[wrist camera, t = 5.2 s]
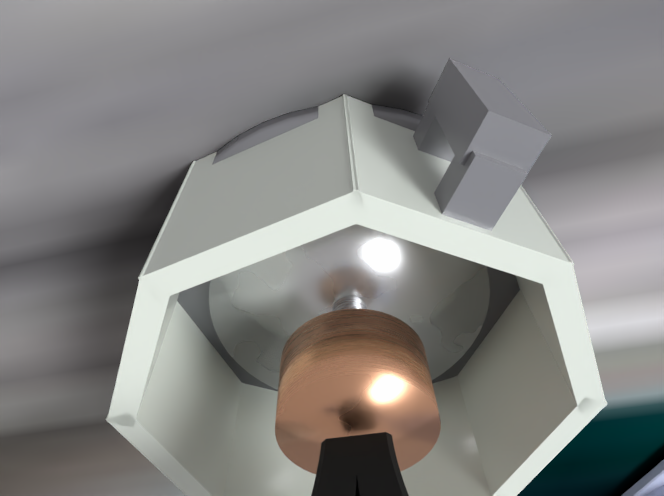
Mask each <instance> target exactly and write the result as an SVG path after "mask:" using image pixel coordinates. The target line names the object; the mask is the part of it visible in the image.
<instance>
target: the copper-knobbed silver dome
mask: <svg viewBox="0 0 664 496" xmlns="http://www.w3.org/2000/svg"><path fill="white" fill-rule="evenodd" d="M489 298H490V285H489V275H488V272H487V268H486V266H485V265H482V264H479V263H476V262H473V261H470V260H467V259H464V258H460V257H457V256H454V255H451V254H448V253H445V252H442V251H439V250H436V249H433V248H429V247H426V246H423V245H420V244H417V243H414V242H411V241H408V240H405V239H401V238H398V237H395V236H392V235H389V234H386V233H383V232H380V231H377V230H374V229H370V228H367V227H364V226H361V225H358V224H355V225H352V226H349V227H347V228H344V229H342V230H339V231H336V232H334V233H331V234H329V235H326V236H323V237H321V238H318V239H316V240H313V241H311V242H308V243H305V244H303V245H300V246H298V247H295V248H292V249H290V250H287V251H285V252H282V253H280V254H277V255H274V256H272V257H269V258H267V259H264V260H261V261H259V262H256V263H254V264H251V265H248V266H246V267H243V268H241V269H238V270H236V271H233V272H230V273H228V274H225V275H223V276H220V277H217V278H215V279H212V280H211V282H210V287H209V307H210V315H211V319H212V322H213V326H214V329H215V331H216V333H217V335H218V337H219V339H220V341H221V343H222V344H223V346H224V347H225V349H226V350H227V352H228V353H229V354H230V355H231V357H232V358H233V359H234V360H235V361H236V362H237V363H238V364H239V365H240V366H241V367H242V368H243V369H245V370H246V371H247V372H248V373H249V374H251V375H252V376H254V377H255V378H257V379H258V380H260V381H261V382H263V383H265V384H267V385H269V386H271V387H273V388H274V389H277V390H278V397H277V408H276V420H275V436H276V440H277V443H278V445H279V447H280V449H281V451H282V452H283V453H284V455H285V456H286V457H287V458H288V459H289V460H290V461H292V462H293V463H294V464H295V465H297V466H299V467H300V468H302V469H304V470H306V471H308V472H310V473H313V474H316V473H317V467H318V462H319V456H320V449H321V443H322V442H323V441H324V440H325V439H328V438H337V437H346V436H355V435H364V434H372V433H381V432H387V433H389V434H391V435H392V438H393V444H394V449H395V453H396V458H397V461H398V465H399V468H400V472H401V471H403V470H405V469H407V468H409V467H411V466H413V465H414V464H416V463H417V462H419V461H420V460H421V459H423V458H424V457H425V456H426V455H427V454H428V453H429V452H430V451H431V450H432V448H433V447H434V445H435V444H436V442H437V440H438V437H439V434H440V430H441V420H440V415H439V410H438V406H437V402H436V397H435V393H434V388H433V384H432V380H433V379H435V378H437V377H438V376H440V375H441V374H443V373H444V372H445V371H447V370H448V369H449V368H450V367H452V366H453V365H454V364H455V363H456V362H457V361H458V360H459V359H460V358H461V357H462V356H463V355H464V354H465V353H466V351H467V350H468V349H469V348H470V347H471V345H472V344H473V342H474V341H475V339H476V337H477V336H478V334H479V333H480V330H481V328H482V326H483V323H484V321H485V318H486V314H487V311H488V307H489Z"/></svg>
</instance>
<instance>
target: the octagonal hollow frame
mask: <svg viewBox="0 0 664 496" xmlns="http://www.w3.org/2000/svg"><path fill="white" fill-rule="evenodd" d="M428 103H429V104H428V106H427V108H426V111H425V113H424V115H423V116H422V115H418V114H415V113H412V112H408V111H405V110H402V109H396V108H390V107H384V106H378V105H371V104H368V103H366V102H363V101H360V100H358V99H355V98H352V97H350V96H347V94H345V95H344V94H343V96H341V97H339V98H336V99H334V100H332V101H330V102H327V103H325V104H323V105H321V106H318V107H313V108H308V109H304V110H300V111H295V112H291V113H287V114H285V115H282V116H279V117H277V118H274V119H271V120H269V121H266V122H263V123H261V124H259V125H257V126H256V127H254V128H252V129H250V130H248V131H246V132H244V133H242V134H240V135H239V136H237V137H236V138H235V139H233V140H232V141H230V142H229V143H228V144H226V145H225V146H224V147H222V148H221V149H219V150H218V151H217V152H215V153H213V154H210V155H208V156H206V157H204V158H201V159H199V160H197V161H193V162H192V164H191V166H190V168H189V170H188V172H187V174H186V177H185V179H184V181H183V183H182V185H181V187H180V189H179V192H178V194H177V196H176V198H175V200H174V202H173V204H172V206H171V209H170V211H169V213H168V215H167V217H166V219H165V221H164V224H163V226H162V228H161V230H160V232H159V234H158V236H157V238H156V241H155V243H154V245H153V247H152V249H151V251H150V253H149V256H148V258H147V260H146V262H145V264H144V266H143V268H142V270H141V273H140V275H139V277H138V279H139V284H138V288H137V293H136V297H135V301H134V306H133V310H132V314H131V319H130V323H129V327H128V332H127V336H126V340H125V345H124V349H123V353H122V358H121V362H120V366H119V371H118V375H117V379H116V384H115V388H114V392H113V397H112V401H111V405H110V410H109V412H108V415H107V417H106V420H107V422H109V423H110V424H111V425H112V426H113V427H114V428H115V429H116V430H117V431H118V432H119V433H120V434H121V435H123V436H124V437H125V438H126V439H127V440H128V441H129V442H130V443H131V444H132V445H133V446H134V447H135V448H136V449H137V450H138V451H139V452H141V453H142V454H143V455H144V456H145V457H146V458H147V459H148V460H149V461H150V462H151V463H152V464H153V465H154V466H155V467H156V468H157V469H159V470H160V471H161V472H162V473H163V474H164V475H165V476H166V477H167V478H168V479H169V480H170V481H171V482H172V483H173V484H174V485H175V486H177V487H178V488H179V489H180V490H181V491H182V492H183V493H184V494H185V495H186V496H311V494H312V490H313V486H314V482H315V477H316V474H313V473H310V472H308V471H306V470H304V469H302V468H300V467H299V466H297V465H295V464H294V463H293V462H292V461H290V460H289V459H288V458H287V457H286V456H285V455H284V453H283V452H282V451H281V449H280V447H279V445H278V443H277V440H276V436H275V420H276V408H277V397H278V390H277V389H274V388H273V387H271V386H269V385H267V384H265V383H263V382H261V381H260V380H258V379H257V378H255V377H254V376H252V375H251V374H249V373H248V372H247V371H246V370H245V369H243V368H242V367H241V366H240V365H239V364H238V363H237V362H236V361H235V360H234V359H233V358H232V357H231V355H230V354H229V353H228V352H227V350H226V349H225V347H224V346H223V344H222V343H221V341H220V339H219V337H218V335H217V333H216V331H215V329H214V326H213V322H212V319H211V315H210V307H209V287H210V282H211V280H212V279H215V278H217V277H220V276H223V275H225V274H228V273H230V272H233V271H236V270H238V269H241V268H243V267H246V266H248V265H251V264H254V263H256V262H259V261H261V260H264V259H267V258H269V257H272V256H274V255H277V254H280V253H282V252H285V251H287V250H290V249H292V248H295V247H298V246H300V245H303V244H305V243H308V242H311V241H313V240H316V239H318V238H321V237H323V236H326V235H329V234H331V233H334V232H336V231H339V230H342V229H344V228H347V227H349V226H352V225H355V224H358V225H361V226H364V227H367V228H370V229H374V230H377V231H380V232H383V233H386V234H389V235H392V236H395V237H398V238H401V239H405V240H408V241H411V242H414V243H417V244H420V245H423V246H426V247H429V248H433V249H436V250H439V251H442V252H445V253H448V254H451V255H454V256H457V257H460V258H464V259H467V260H470V261H473V262H476V263H479V264H482V265H485V266H486V268H487V272H488V275H489V285H490V298H489V307H488V311H487V314H486V318H485V321H484V323H483V326H482V328H481V330H480V333H479V334H478V336H477V337H476V339H475V341H474V342H473V344H472V345H471V347H470V348H469V349H468V350H467V351H466V353H465V354H464V355H463V356H462V357H461V358H460V359H459V360H458V361H457V362H456V363H455V364H454V365H453V366H452V367H450V368H449V369H448V370H447V371H445V372H444V373H443V374H441V375H440V376H438V377H437V378H435V379H433V380H432V384H433V388H434V393H435V397H436V402H437V406H438V410H439V415H440V420H441V430H440V434H439V437H438V440H437V442H436V444H435V445H434V447H433V448H432V450H431V451H430V452H429V453H428V454H427V455H426V456H425V457H424V458H423V459H421V460H420V461H419V462H417V463H416V464H414V465H413V466H411V467H409V468H407V469H405V470H403V471H401V475H402V478H403V481H404V484H405V487H406V489H407V492H408V495H409V496H517V495H518V494H519V493H520V492H521V491H522V490H523V489H524V488H525V487H526V486H527V485H528V484H529V482H530V481H531V480H532V479H533V478H534V477H535V476H536V475H537V474H538V473H539V472H540V471H541V470H542V469H543V468H544V467H545V466H546V465H547V464H548V463H549V462H550V461H551V460H552V459H553V458H554V457H555V456H556V455H557V454H558V453H559V452H560V451H561V450H562V449H563V448H564V447H565V446H566V445H567V444H568V443H569V442H570V441H571V440H572V439H573V438H574V437H575V436H576V435H577V434H578V433H579V432H580V431H581V430H582V429H583V428H584V427H585V426H586V425H587V424H588V423H589V422H590V421H591V420H592V419H593V418H594V417H595V416H596V415H597V414H598V413H599V412H600V411H601V410H602V409H603V408H604V407H605V406H606V405H607V404H608V403H607V402H606V400H605V397H604V393H603V389H602V385H601V381H600V376H599V372H598V368H597V364H596V360H595V356H594V351H593V347H592V343H591V339H590V335H589V330H588V326H587V322H586V318H585V314H584V309H583V305H582V301H581V297H580V293H579V289H578V284H577V280H576V276H575V272H574V268H573V265H574V262H573V261H572V260H571V258H570V257H569V255H568V254H567V252H566V251H565V249H564V248H563V246H562V245H561V243H560V242H559V240H558V239H557V237H556V236H555V234H554V233H553V231H552V230H551V228H550V227H549V225H548V224H547V222H546V221H545V220H544V218H543V217H542V215H541V214H540V212H539V211H538V209H537V208H536V206H535V205H534V203H533V202H532V200H531V199H530V197H529V196H528V194H527V193H526V191H525V190H524V188H523V187H522V185H521V184H522V183H523V181H524V179H525V178H526V176H527V175H528V174H527V173H528V172H529V170H530V169H531V167H532V166H533V164H534V163H535V161H536V159H537V158H538V156H539V155H540V153H541V152H542V150H543V149H544V147H545V145H546V144H547V142H548V141H549V139H550V138H551V136H552V135H551V134H550V133H549V132H548V131H547V129H546V128H545V127H544V126H543V125H542V124H541V123H540V122H539V121H538V120H537V119H536V118H535V117H534V116H533V115H532V113H531V112H530V111H529V110H528V109H527V108H526V107H525V106H524V105H523V104H522V103H521V102H520V101H519V100H518V98H517V97H516V96H515V95H514V94H513V93H512V92H511V91H510V90H509V89H508V88H507V87H506V86H505V85H504V83H503V82H502V81H501V80H500V79H499V78H497V77H494V76H492V75H489V74H487V73H484V72H482V71H479V70H477V69H475V68H472V67H470V66H467V65H465V64H462V63H460V62H457V61H455V60H453V59H450V58H449V60H448V62H447V64H446V66H445V68H444V70H443V72H442V74H441V76H440V78H439V80H438V82H437V84H436V86H435V88H434V90H433V93H432V95H431V97H430V99H429V101H428Z"/></svg>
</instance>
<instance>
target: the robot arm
mask: <svg viewBox="0 0 664 496" xmlns="http://www.w3.org/2000/svg"><path fill="white" fill-rule="evenodd" d="M311 496H409V495H408V492H407V489H406V487H405V484H404V481H403V478H402V475H401V472H400V468H399V465H398V461H397V458H396V453H395V449H394V444H393V438H392V435H391V434H389V433H387V432H381V433H372V434H364V435H355V436H346V437H337V438H328V439H325V440H324V441H323V442H322V443H321V449H320V456H319V462H318V467H317V473H316V477H315V482H314V486H313V490H312V494H311ZM621 496H664V459H663V460H662V461H661V462H660V463H659V464H658V465H656V466H655V467H654V468H653V469H652V470H651V471H649V472H648V473H647V474H646V475H645V476H643V477H642V478H641V479H640V480H639V481H638V482H636V483H635V484H634V485H633V486H632V487H631V488H629V489H628V490H627V491H626V492H625V493H624V494H622V495H621Z"/></svg>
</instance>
